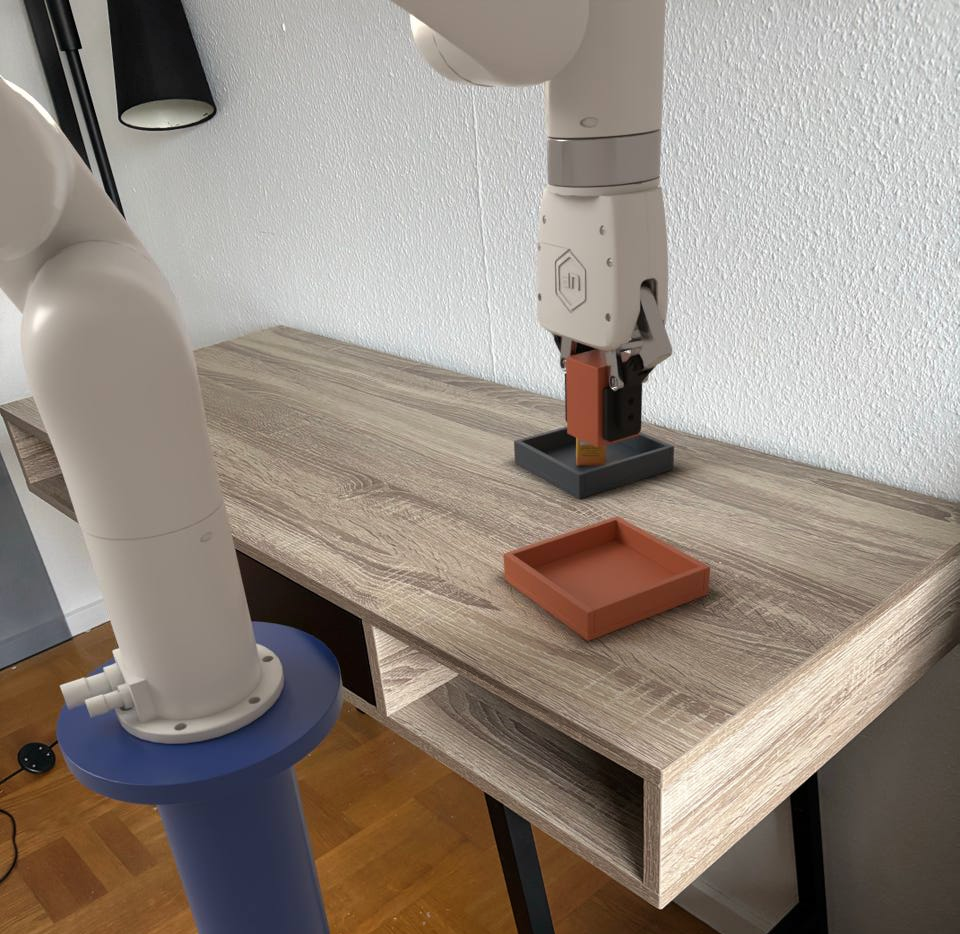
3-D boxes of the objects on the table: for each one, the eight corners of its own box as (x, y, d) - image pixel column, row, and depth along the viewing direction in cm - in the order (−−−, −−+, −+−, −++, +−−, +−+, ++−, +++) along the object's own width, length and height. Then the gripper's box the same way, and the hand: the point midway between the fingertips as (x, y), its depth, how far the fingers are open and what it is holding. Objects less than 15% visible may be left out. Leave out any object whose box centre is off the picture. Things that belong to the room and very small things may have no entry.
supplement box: (608, 466, 100) (610, 373, 95) (576, 467, 101) (575, 374, 95) (607, 455, 103) (608, 363, 98) (575, 455, 103) (575, 364, 98)
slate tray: (579, 499, 95) (579, 475, 94) (514, 463, 104) (513, 440, 103) (673, 469, 100) (674, 446, 99) (603, 437, 109) (603, 416, 108)
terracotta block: (597, 448, 71) (597, 368, 67) (566, 433, 74) (565, 356, 70) (639, 435, 72) (641, 357, 69) (608, 421, 75) (608, 345, 72)
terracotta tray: (588, 641, 73) (588, 612, 71) (504, 580, 82) (503, 553, 80) (708, 594, 78) (710, 566, 76) (617, 541, 87) (617, 515, 85)
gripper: (490, 163, 68) (503, 412, 77) (638, 180, 55) (632, 473, 65) (575, 151, 71) (578, 391, 80) (734, 164, 58) (715, 447, 68)
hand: (602, 425), depth 73 cm, fingers closed on terracotta block, 4 cm apart
